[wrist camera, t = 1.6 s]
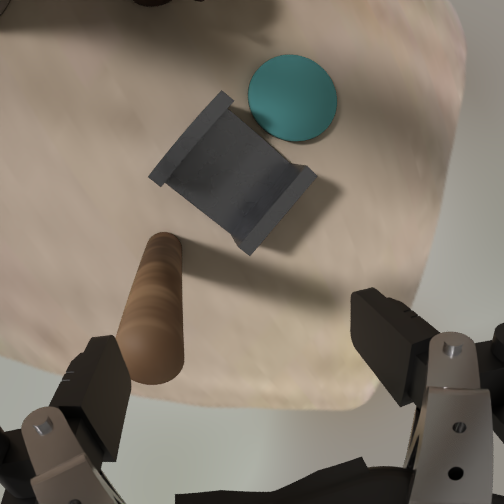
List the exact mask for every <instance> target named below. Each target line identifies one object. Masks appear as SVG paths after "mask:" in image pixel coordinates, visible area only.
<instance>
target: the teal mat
mask: <svg viewBox="0 0 504 504" xmlns="http://www.w3.org/2000/svg"><path fill="white" fill-rule="evenodd" d="M248 103H249V107H250V110H251V113H252V115H253V117H254V118H255V120H256V122H257V123H258V124H259V125H260V126H261V127H262V128H263V129H264V130H265V131H266V132H268V133H269V134H271V135H272V136H274V137H276V138H279V139H282V140H286V141H304V140H308V139H311V138H314V137H316V136H318V135H320V134H321V133H322V132H324V131H325V130H326V129H327V128H328V126H329V125H330V124H331V122H332V120H333V118H334V115H335V112H336V107H337V96H336V90H335V87H334V84H333V82H332V80H331V78H330V77H329V75H328V74H327V73H326V71H325V70H324V69H323V68H322V67H321V66H319V65H318V64H317V63H315V62H314V61H312V60H310V59H308V58H305V57H302V56H298V55H281V56H277V57H274V58H272V59H270V60H268V61H267V62H265V63H264V64H263V65H262V66H261V67H260V68H259V69H258V70H257V71H256V72H255V74H254V75H253V77H252V79H251V81H250V84H249V89H248Z"/></svg>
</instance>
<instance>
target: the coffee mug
mask: <svg viewBox="0 0 504 504" xmlns="http://www.w3.org/2000/svg"><path fill="white" fill-rule="evenodd" d="M133 1H134V2H135V3H137V4H139V5H142V6H151V7H153V6H159V5H163V4H166V3H168V2H170V1H171V0H133ZM195 1H200V2H202V1H204V0H195Z"/></svg>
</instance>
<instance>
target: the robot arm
mask: <svg viewBox="0 0 504 504" xmlns="http://www.w3.org/2000/svg"><path fill="white" fill-rule="evenodd" d="M9 1H10V0H0V15H1V13H2V12H3V11H4V9H5V8H6V6H7V5H8V3H9ZM350 332H351V339H352V343H353V345H354V347H355V349H356V350H357V351H358V353H359V354H360V355H361V357H362V358H363V359H364V361H365V362H366V363H367V364H368V366H369V367H370V368H371V370H372V371H373V372H374V373H375V375H376V376H377V377H378V379H379V380H380V381H381V383H382V384H383V385H384V386H385V388H386V389H387V390H388V392H389V393H390V394H391V396H392V397H393V398H394V400H395V401H396V402H397V404H398V405H399V406H400V407H402V406H405V405H407V404H410V403H412V402H414V403H415V405H416V409H415V413H414V418H413V424H412V429H411V435H410V439H409V444H408V449H407V454H406V458H405V461H404V465H403V468H401V467H392V466H378V467H367V466H366V464H365V462H364V460H363V458H362V457H359V458H356V459H354V460H351V461H348V462H345V463H341V464H338V465H336V466H332V467H329V468H325V469H322V470H318V471H316V472H314V473H312V474H310V475H308V476H306V477H305V478H302V479H300V480H298V481H296V482H294V483H292V484H290V485H287V486H285V487H283V488H281V489H279V490H276V491H272V492H243V491H225V490H219V491H210V492H200V493H188V494H175V504H504V496H501V495H497V494H493V493H492V487H493V431H494V432H495V433H496V435H497V436H498V437H499V438H500V439H501V441H502V442H503V443H504V323H502V324H500V325H498V326H497V327H496V328H495V332H494V336H493V340H490V341H485V342H479V343H474V341H473V340H472V339H470V337H468V336H466V335H464V334H462V333H458V332H443V333H440V332H438V331H437V330H436V329H435V328H434V327H433V326H431V325H430V324H429V323H428V322H426V321H425V320H424V319H423V318H421V317H420V316H418V315H417V314H416V313H415V312H414V311H411V309H410V308H409V307H408V306H406V305H405V304H404V303H402V302H400V301H398V300H395V299H392V298H390V297H389V298H386V297H385V296H384V295H383V294H381V293H380V292H379V291H378V290H377V289H375V288H373V287H372V288H368V289H364V290H359V291H355V292H353V293H352V294H351V329H350ZM130 392H131V378H130V374H129V371H128V369H127V366H126V364H125V361H124V359H123V356H122V353H121V351H120V348H119V346H118V343H117V340H116V338H115V337H114V336H113V335H108V336H99V337H92V338H91V339H90V341H89V343H88V345H87V347H86V349H85V351H84V353H80V354H79V355H78V356H77V357H76V358H75V359H74V360H72V361H71V363H70V365H69V367H68V369H67V370H66V374H64V376H63V378H62V382H60V384H59V386H58V388H57V390H56V392H55V394H54V396H53V398H52V400H51V402H50V405H49V407H42V408H39V409H37V410H35V411H33V412H32V413H30V414H29V415H28V416H27V417H26V418H25V420H24V421H23V423H22V427H21V429H16V430H12V431H6V432H4V431H3V430H2V428H1V427H0V483H1V484H2V486H3V487H4V488H5V492H4V496H3V498H2V502H1V504H126V503H125V502H124V500H123V499H122V498H121V496H120V495H119V494H118V492H117V491H116V490H115V488H114V487H113V485H112V484H111V483H110V481H109V480H108V478H107V477H106V476H105V474H104V473H103V471H102V470H101V466H102V462H116V459H117V454H118V449H119V443H120V439H121V433H122V429H123V424H124V419H125V415H126V410H127V406H128V401H129V397H130Z"/></svg>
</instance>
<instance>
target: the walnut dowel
mask: <svg viewBox="0 0 504 504" xmlns="http://www.w3.org/2000/svg"><path fill="white" fill-rule="evenodd" d="M116 340H117V343H118V346H119V348H120V351H121V353H122V356H123V359H124V361H125V364H126V366H127V369H128V371H129V374H130V378H131V380H133V381H135V382H138V383H142V384H147V385H157V384H162V383H166V382H168V381H170V380H172V379H173V378H175V377H176V376H177V375H178V374H179V373H180V371H181V370H182V368H183V365H184V338H183V307H182V246H181V243H180V241H179V240H178V238H177V237H176V236H174V235H173V234H171V233H167V232H160V233H157V234H155V235H153V236H152V237H151V238H150V239H149V241H148V243H147V246H146V248H145V251H144V254H143V256H142V259H141V262H140V265H139V268H138V270H137V273H136V276H135V279H134V282H133V285H132V288H131V291H130V294H129V297H128V300H127V303H126V306H125V309H124V312H123V315H122V319H121V322H120V325H119V328H118V332H117V335H116Z"/></svg>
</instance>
